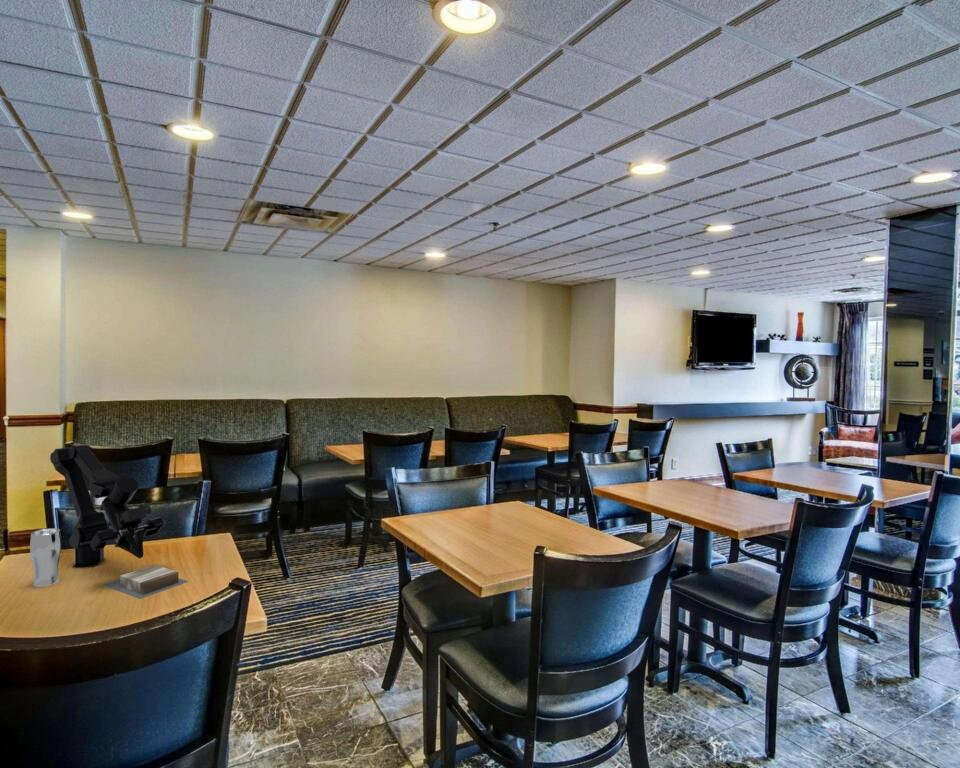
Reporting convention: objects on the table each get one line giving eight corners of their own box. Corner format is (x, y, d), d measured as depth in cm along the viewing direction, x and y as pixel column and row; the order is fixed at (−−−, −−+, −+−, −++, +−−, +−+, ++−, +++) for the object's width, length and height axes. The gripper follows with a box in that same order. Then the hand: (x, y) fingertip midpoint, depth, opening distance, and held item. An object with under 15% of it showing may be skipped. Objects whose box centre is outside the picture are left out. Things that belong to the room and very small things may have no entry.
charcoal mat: (102, 586, 161) (102, 584, 161) (151, 571, 173) (151, 569, 173) (140, 600, 152) (140, 598, 152) (189, 583, 164) (189, 581, 164)
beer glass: (67, 581, 164) (67, 529, 163) (41, 590, 157) (41, 536, 156) (50, 578, 166) (49, 526, 165) (24, 587, 159) (23, 533, 159)
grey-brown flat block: (119, 575, 160) (143, 583, 154) (155, 564, 168) (178, 572, 163) (119, 586, 160) (143, 594, 155) (155, 574, 169) (178, 582, 163)
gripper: (95, 503, 157) (119, 550, 152) (161, 490, 173) (184, 532, 168) (80, 527, 161) (102, 573, 156) (145, 512, 177) (168, 554, 172)
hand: (141, 557), depth 163 cm, fingers closed
